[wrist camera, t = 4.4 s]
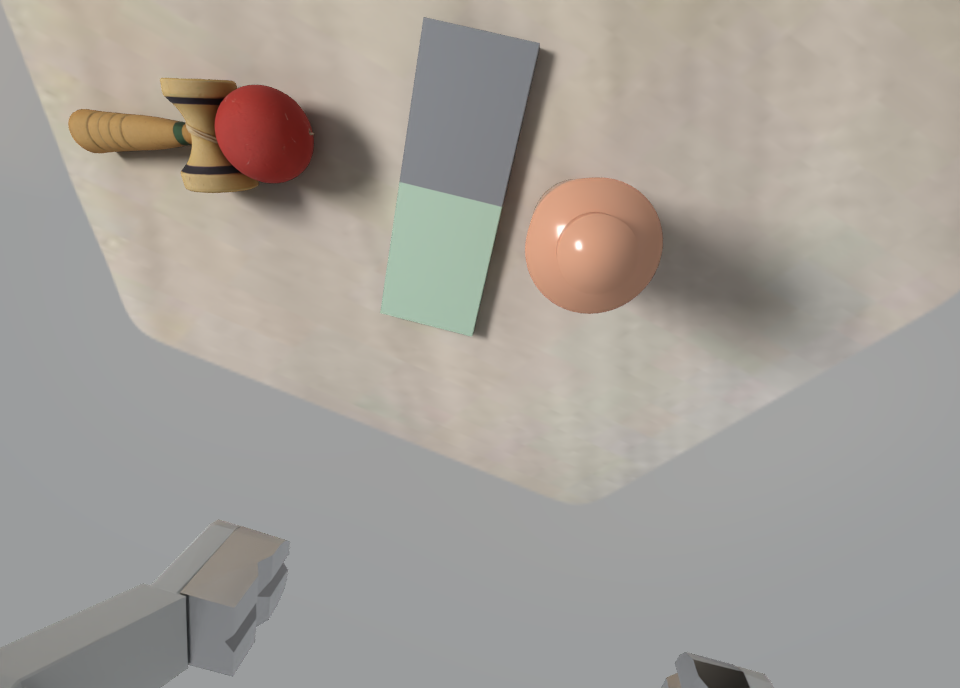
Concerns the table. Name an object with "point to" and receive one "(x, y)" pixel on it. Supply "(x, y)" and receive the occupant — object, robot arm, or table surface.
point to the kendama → (212, 133)
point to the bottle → (593, 244)
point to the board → (455, 171)
